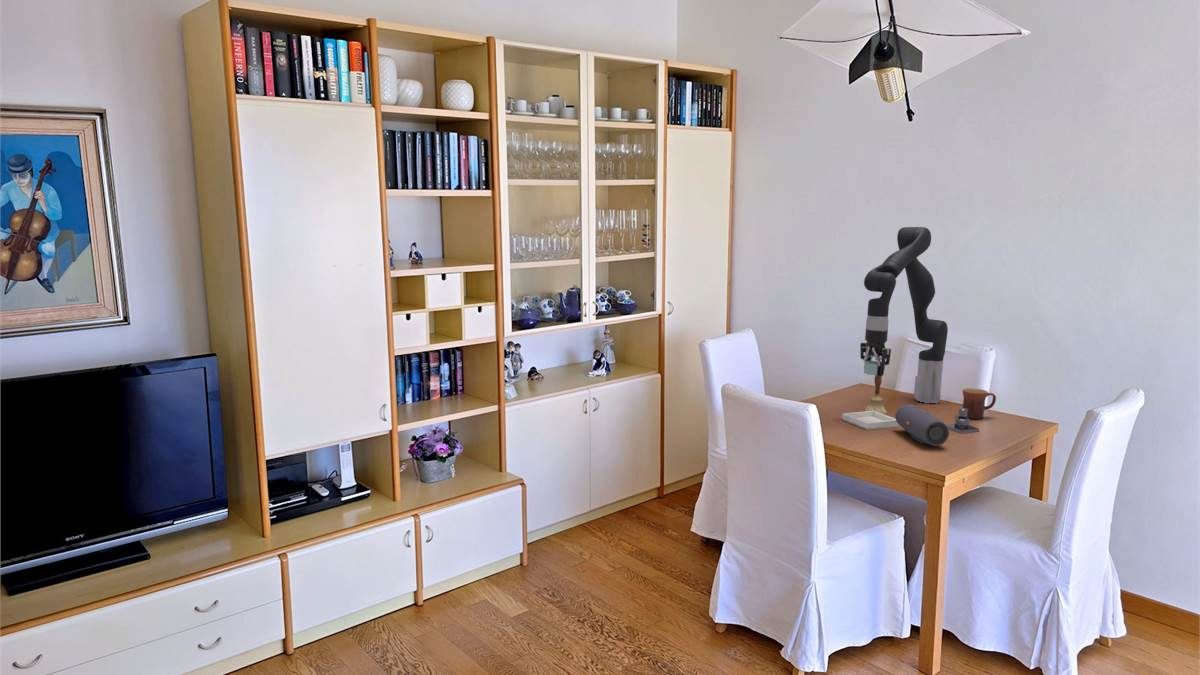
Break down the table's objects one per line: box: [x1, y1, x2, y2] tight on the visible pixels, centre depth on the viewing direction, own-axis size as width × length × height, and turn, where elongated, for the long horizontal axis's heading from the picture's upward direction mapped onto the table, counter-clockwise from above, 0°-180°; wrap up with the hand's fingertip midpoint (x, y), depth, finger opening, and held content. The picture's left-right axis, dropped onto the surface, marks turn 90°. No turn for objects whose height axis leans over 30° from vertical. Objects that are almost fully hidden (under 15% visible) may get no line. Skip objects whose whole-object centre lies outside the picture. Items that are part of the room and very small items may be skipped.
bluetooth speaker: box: [894, 403, 950, 447], centre depth 281 cm, size 23×9×10 cm, turn 4°
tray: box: [841, 410, 900, 431], centre depth 301 cm, size 14×14×2 cm
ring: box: [863, 359, 886, 376], centre depth 298 cm, size 6×7×4 cm
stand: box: [945, 407, 980, 434], centre depth 294 cm, size 8×8×8 cm
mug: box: [962, 387, 997, 420], centre depth 310 cm, size 12×9×10 cm
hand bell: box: [864, 375, 888, 415], centre depth 316 cm, size 8×8×16 cm
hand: (873, 373), depth 298 cm, fingers closed on ring, 6 cm apart
